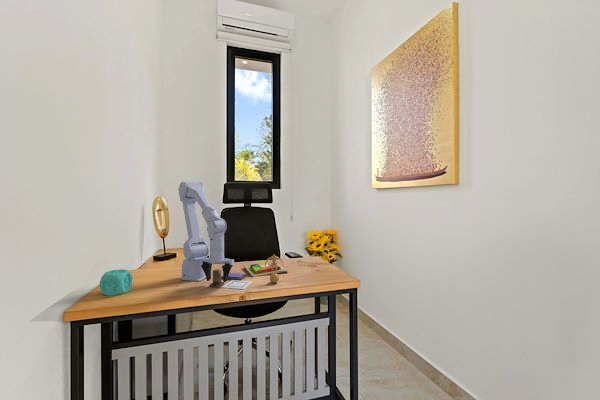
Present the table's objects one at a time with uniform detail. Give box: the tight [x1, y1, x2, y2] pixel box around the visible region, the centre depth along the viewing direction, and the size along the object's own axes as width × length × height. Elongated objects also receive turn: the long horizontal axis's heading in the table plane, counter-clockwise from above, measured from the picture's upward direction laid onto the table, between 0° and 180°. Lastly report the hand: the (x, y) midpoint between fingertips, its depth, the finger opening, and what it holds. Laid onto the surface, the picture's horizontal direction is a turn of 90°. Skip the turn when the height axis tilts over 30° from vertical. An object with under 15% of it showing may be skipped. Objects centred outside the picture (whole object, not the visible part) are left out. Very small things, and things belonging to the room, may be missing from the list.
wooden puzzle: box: [243, 260, 289, 278], centre depth 142 cm, size 18×19×4 cm
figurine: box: [264, 254, 284, 284], centre depth 123 cm, size 8×6×12 cm
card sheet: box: [220, 280, 254, 290], centre depth 119 cm, size 10×10×1 cm
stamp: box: [209, 268, 225, 289], centre depth 118 cm, size 4×4×6 cm
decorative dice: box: [99, 268, 133, 297], centre depth 109 cm, size 8×8×8 cm
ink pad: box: [221, 272, 248, 281], centre depth 129 cm, size 10×7×1 cm
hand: (217, 280), depth 118 cm, fingers open, 7 cm apart
